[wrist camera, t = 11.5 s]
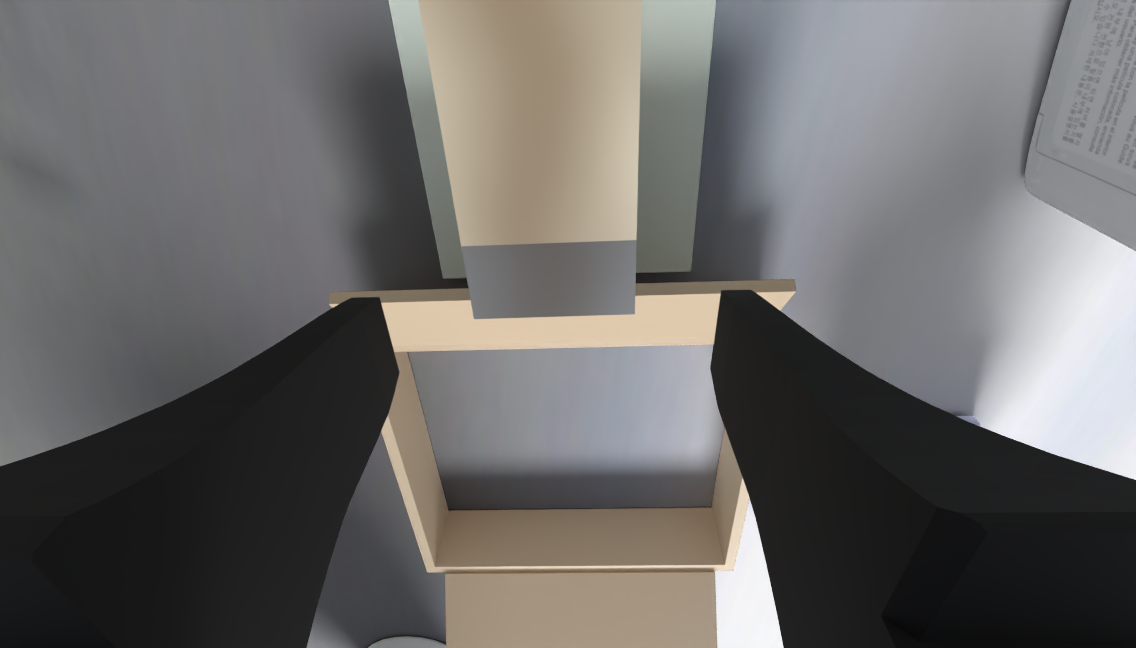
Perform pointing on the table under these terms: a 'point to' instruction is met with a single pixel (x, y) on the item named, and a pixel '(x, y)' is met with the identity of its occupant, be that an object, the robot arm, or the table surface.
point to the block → (541, 149)
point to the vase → (408, 643)
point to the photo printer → (1090, 121)
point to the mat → (666, 130)
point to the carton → (565, 536)
